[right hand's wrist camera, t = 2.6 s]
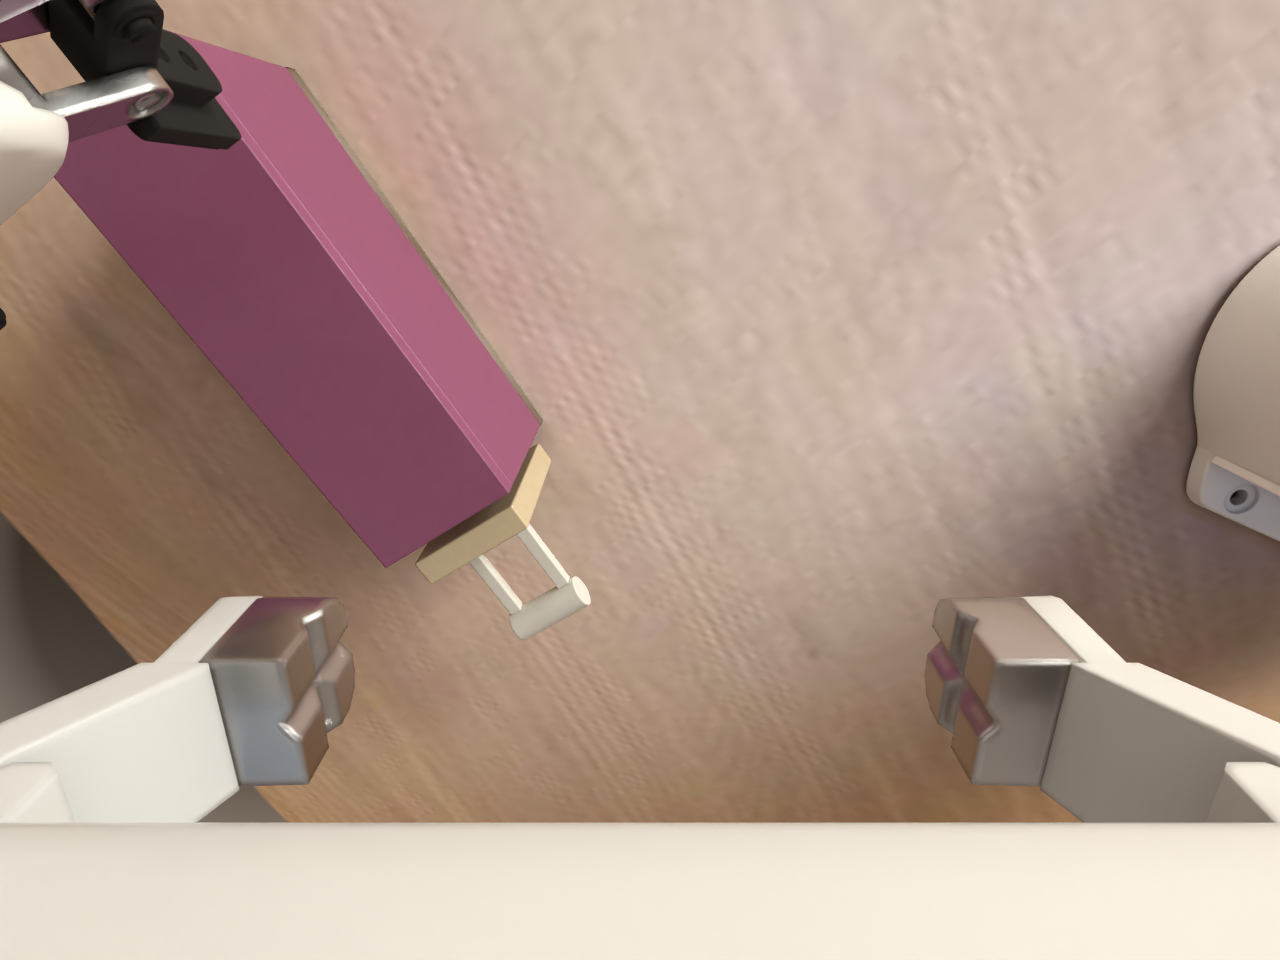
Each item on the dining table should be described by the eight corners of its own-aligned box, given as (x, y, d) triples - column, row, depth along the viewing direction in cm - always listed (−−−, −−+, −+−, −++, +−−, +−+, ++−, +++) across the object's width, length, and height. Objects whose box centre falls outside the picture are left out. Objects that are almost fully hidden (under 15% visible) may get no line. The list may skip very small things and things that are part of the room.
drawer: (610, 541, 41) (600, 623, 33) (532, 586, 42) (505, 675, 34) (320, 139, 33) (225, 126, 26) (235, 205, 35) (120, 211, 27)
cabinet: (543, 420, 39) (509, 493, 30) (445, 481, 40) (385, 569, 31) (294, 69, 33) (158, 26, 24) (190, 153, 35) (24, 143, 25)
